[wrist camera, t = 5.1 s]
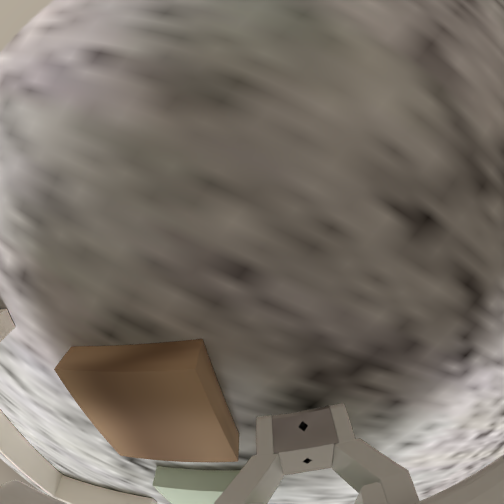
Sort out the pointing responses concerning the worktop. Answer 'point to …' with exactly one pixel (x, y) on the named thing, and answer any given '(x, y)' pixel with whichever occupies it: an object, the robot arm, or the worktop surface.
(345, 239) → the worktop surface
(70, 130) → the worktop surface
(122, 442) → the walnut tile
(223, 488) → the sage tile
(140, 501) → the white u-shaped frame
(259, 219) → the worktop surface
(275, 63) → the worktop surface
